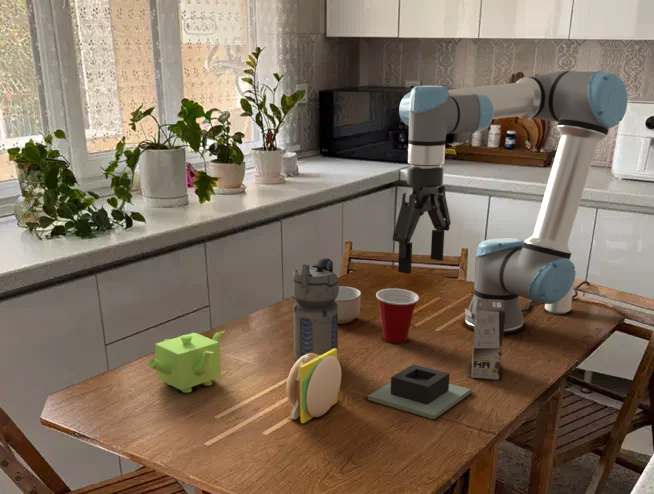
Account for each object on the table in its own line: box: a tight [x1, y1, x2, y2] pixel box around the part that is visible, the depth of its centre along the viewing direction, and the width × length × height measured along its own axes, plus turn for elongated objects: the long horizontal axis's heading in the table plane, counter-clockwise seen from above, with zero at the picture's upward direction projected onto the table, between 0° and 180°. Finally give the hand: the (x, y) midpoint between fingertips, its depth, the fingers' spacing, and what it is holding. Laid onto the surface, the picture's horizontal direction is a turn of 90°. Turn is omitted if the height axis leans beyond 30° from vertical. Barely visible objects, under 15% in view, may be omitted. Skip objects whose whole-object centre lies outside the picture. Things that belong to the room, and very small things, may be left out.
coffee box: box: [470, 299, 506, 381], centre depth 176 cm, size 9×6×16 cm
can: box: [544, 281, 575, 315], centre depth 218 cm, size 7×7×12 cm
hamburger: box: [285, 348, 342, 424], centre depth 158 cm, size 12×8×12 cm
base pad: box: [367, 377, 472, 420], centre depth 166 cm, size 16×16×4 cm
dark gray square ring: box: [390, 363, 451, 405], centre depth 166 cm, size 9×9×4 cm
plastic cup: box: [375, 288, 420, 344], centre depth 197 cm, size 11×11×12 cm
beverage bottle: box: [292, 257, 340, 363], centre depth 179 cm, size 10×13×25 cm
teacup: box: [335, 286, 362, 325], centre depth 213 cm, size 14×11×8 cm
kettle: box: [148, 330, 226, 394], centre depth 171 cm, size 15×14×11 cm
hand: (421, 266), depth 170 cm, fingers open, 13 cm apart
